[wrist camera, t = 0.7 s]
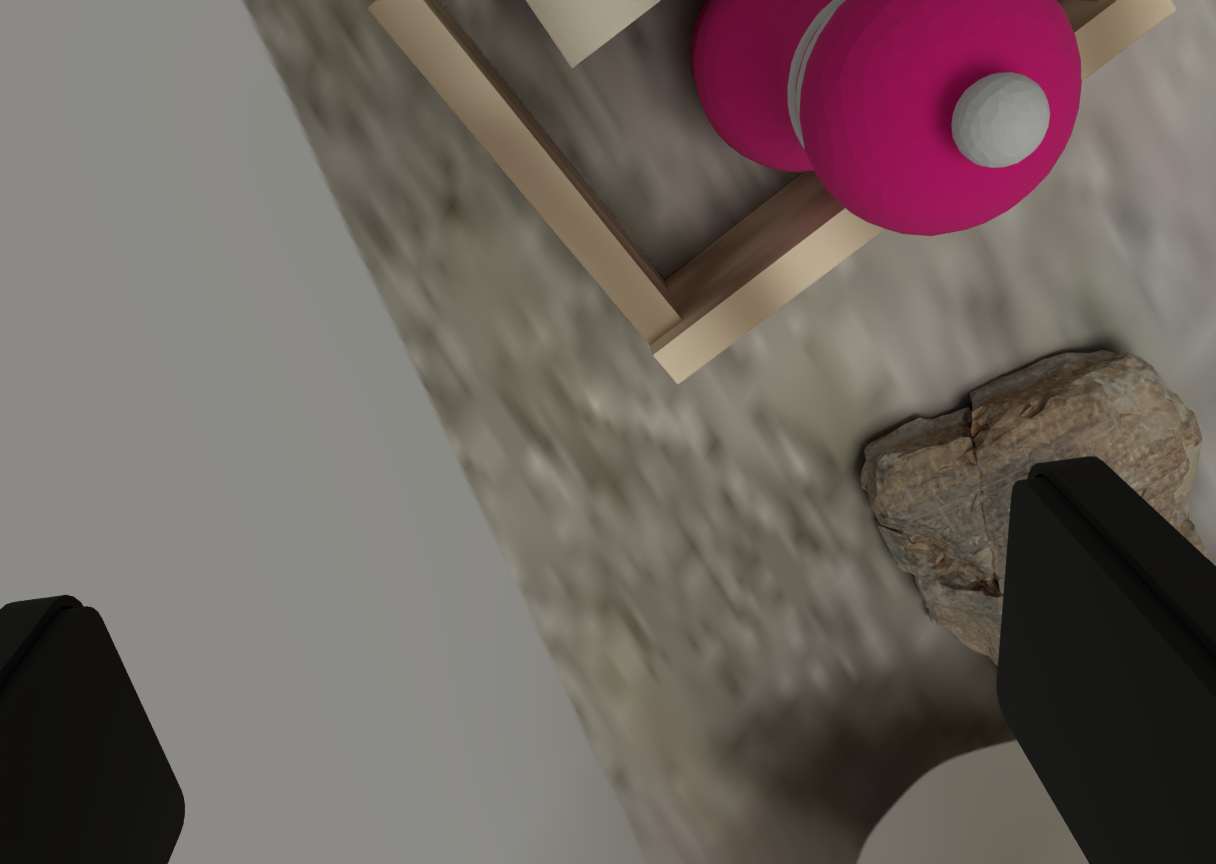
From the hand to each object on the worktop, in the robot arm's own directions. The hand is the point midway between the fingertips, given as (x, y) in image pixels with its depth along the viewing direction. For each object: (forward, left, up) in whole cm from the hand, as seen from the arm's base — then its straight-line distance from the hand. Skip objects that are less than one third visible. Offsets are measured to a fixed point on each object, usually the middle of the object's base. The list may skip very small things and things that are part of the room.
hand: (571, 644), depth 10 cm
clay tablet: (-7, +30, -31) cm, 43 cm away
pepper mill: (-9, +3, -30) cm, 32 cm away
